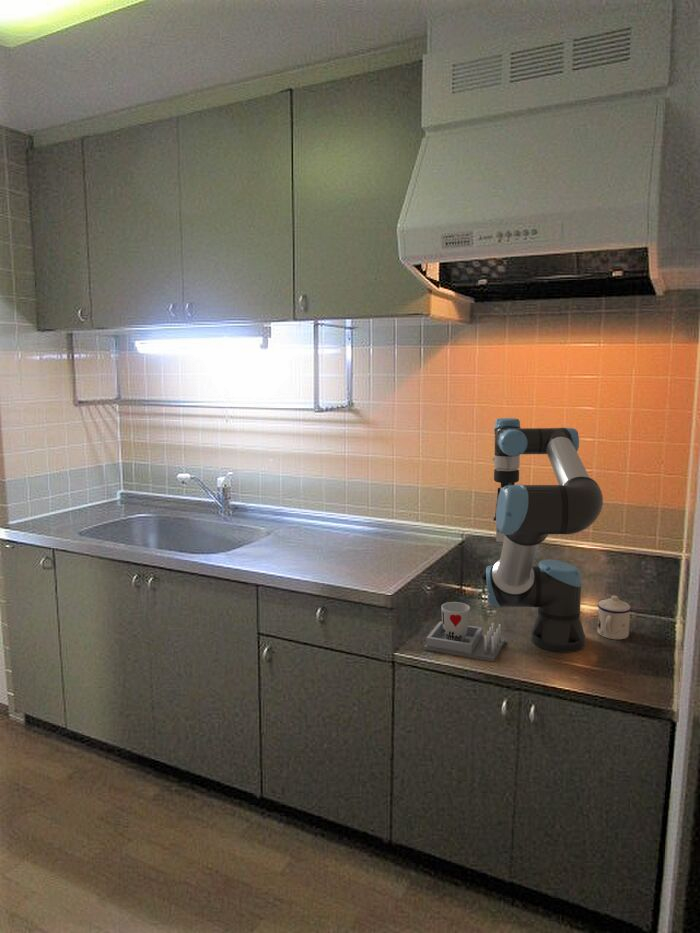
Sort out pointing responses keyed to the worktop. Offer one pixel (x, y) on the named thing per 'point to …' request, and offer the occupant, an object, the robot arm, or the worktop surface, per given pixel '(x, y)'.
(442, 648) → the dish rack
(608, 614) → the teacup with lid
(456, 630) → the cup
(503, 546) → the robot arm
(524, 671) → the worktop surface
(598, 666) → the worktop surface
